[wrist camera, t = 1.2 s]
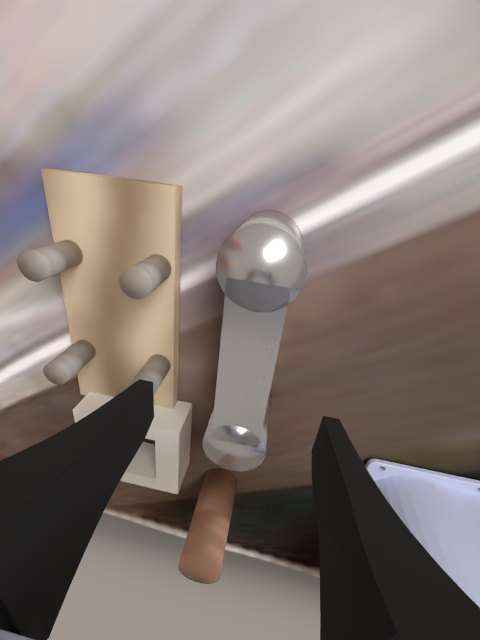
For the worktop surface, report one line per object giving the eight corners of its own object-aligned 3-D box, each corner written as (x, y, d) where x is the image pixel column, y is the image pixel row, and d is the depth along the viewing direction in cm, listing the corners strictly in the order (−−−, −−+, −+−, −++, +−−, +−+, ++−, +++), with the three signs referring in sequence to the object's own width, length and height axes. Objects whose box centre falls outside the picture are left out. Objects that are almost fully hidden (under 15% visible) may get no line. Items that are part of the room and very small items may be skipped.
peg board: (182, 186, 16) (150, 189, 13) (177, 404, 23) (157, 446, 20) (54, 168, 17) (-10, 167, 13) (88, 386, 24) (53, 423, 21)
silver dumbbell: (240, 205, 16) (219, 218, 12) (309, 215, 16) (316, 232, 11) (218, 407, 23) (200, 463, 18) (266, 417, 23) (260, 476, 18)
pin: (238, 473, 26) (221, 567, 20) (235, 493, 27) (218, 587, 21) (205, 465, 26) (178, 555, 20) (203, 486, 28) (177, 577, 21)
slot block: (192, 403, 23) (179, 433, 20) (189, 462, 26) (177, 494, 24) (97, 383, 24) (72, 409, 21) (105, 443, 27) (85, 472, 24)
